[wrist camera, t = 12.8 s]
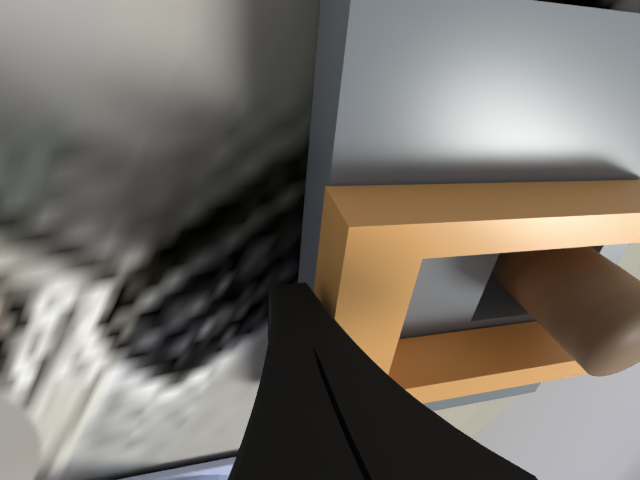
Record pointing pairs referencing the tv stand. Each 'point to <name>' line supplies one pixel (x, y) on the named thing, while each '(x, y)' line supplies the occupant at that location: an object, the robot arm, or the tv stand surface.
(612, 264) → the peg
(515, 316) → the housing
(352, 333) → the cap
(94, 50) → the tv stand surface
